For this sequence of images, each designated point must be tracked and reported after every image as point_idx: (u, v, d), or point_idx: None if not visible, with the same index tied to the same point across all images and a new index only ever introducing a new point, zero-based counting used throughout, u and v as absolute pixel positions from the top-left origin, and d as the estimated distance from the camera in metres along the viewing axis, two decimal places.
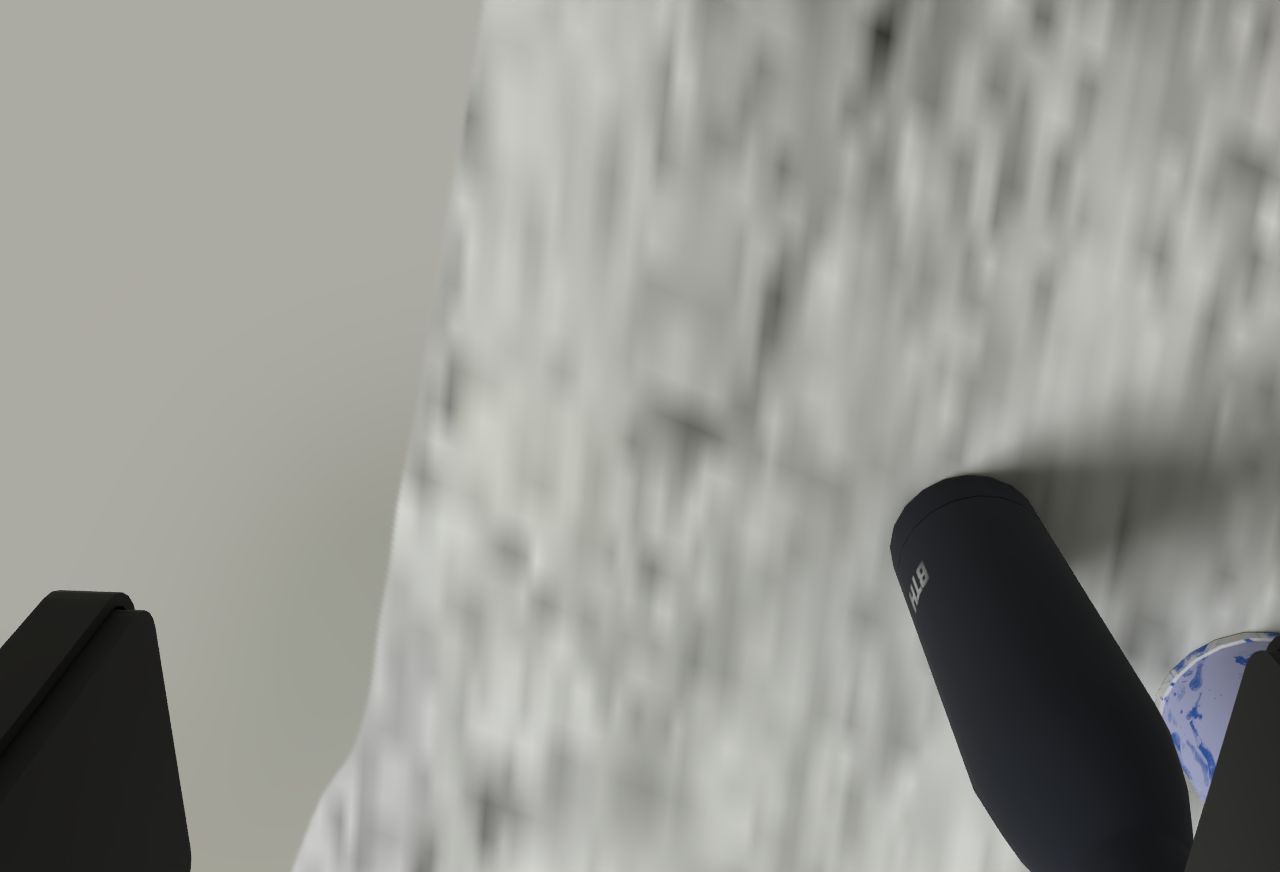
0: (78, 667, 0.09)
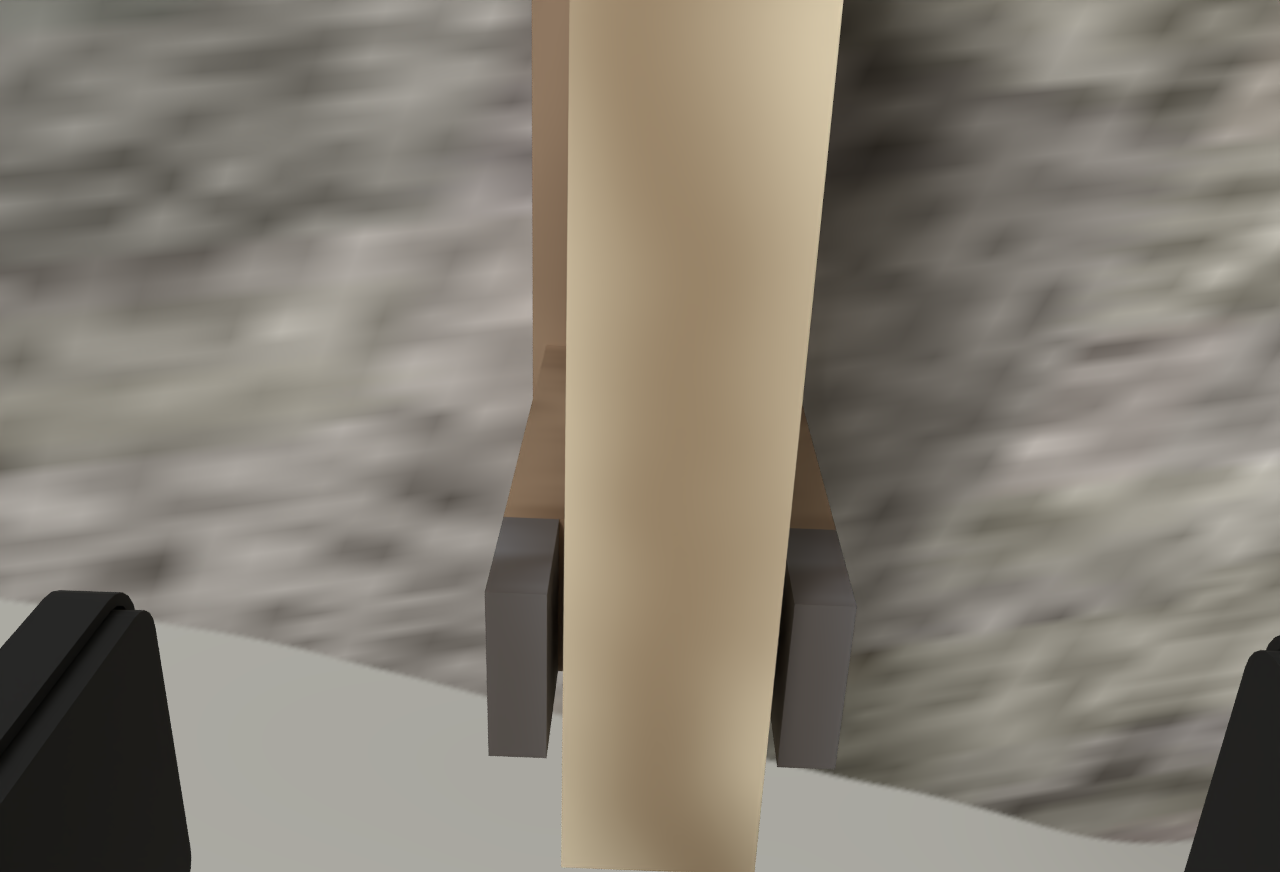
0: (78, 667, 0.09)
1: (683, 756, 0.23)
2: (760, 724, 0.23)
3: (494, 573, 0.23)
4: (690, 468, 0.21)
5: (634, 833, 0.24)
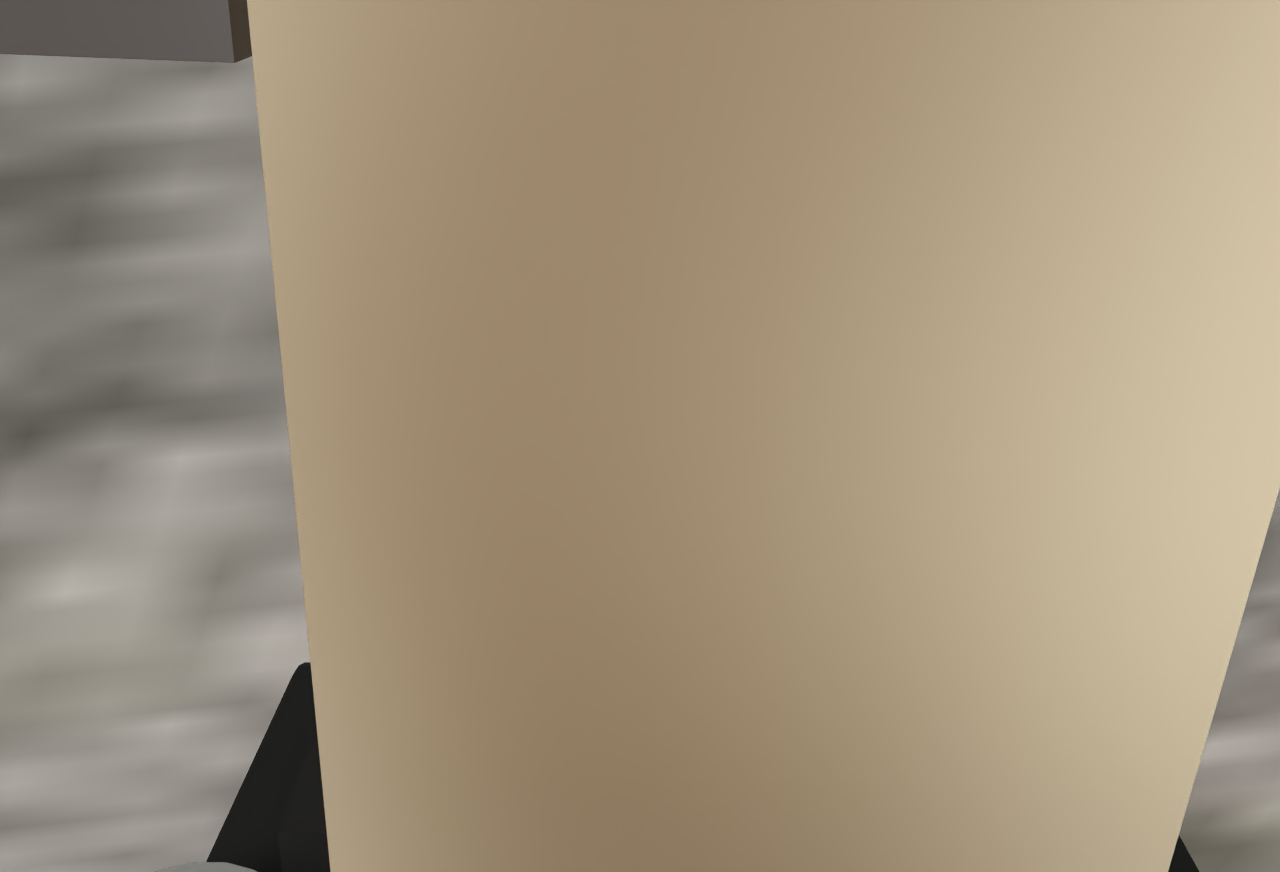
0: None
1: None
2: None
3: None
4: None
5: None
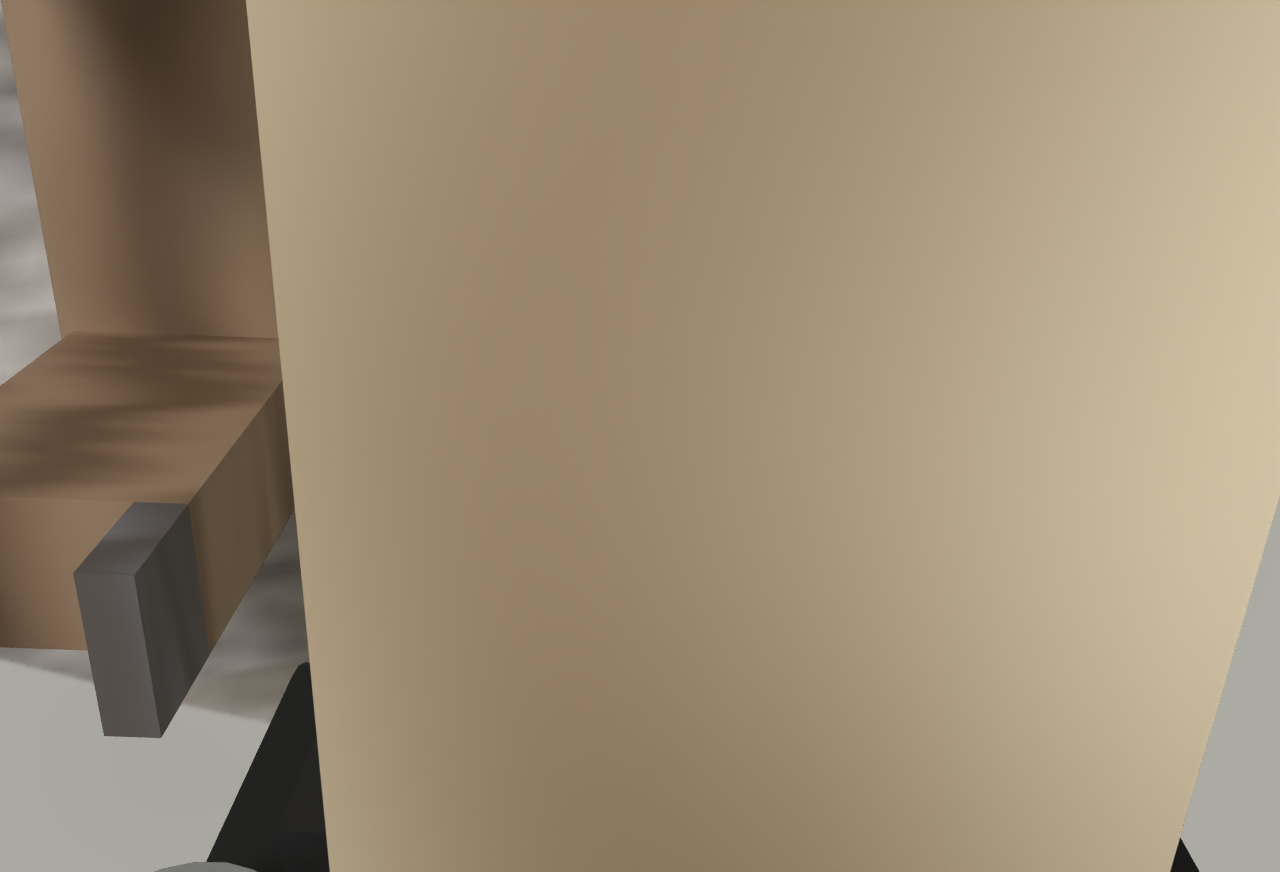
0: None
1: None
2: None
3: None
4: None
5: None
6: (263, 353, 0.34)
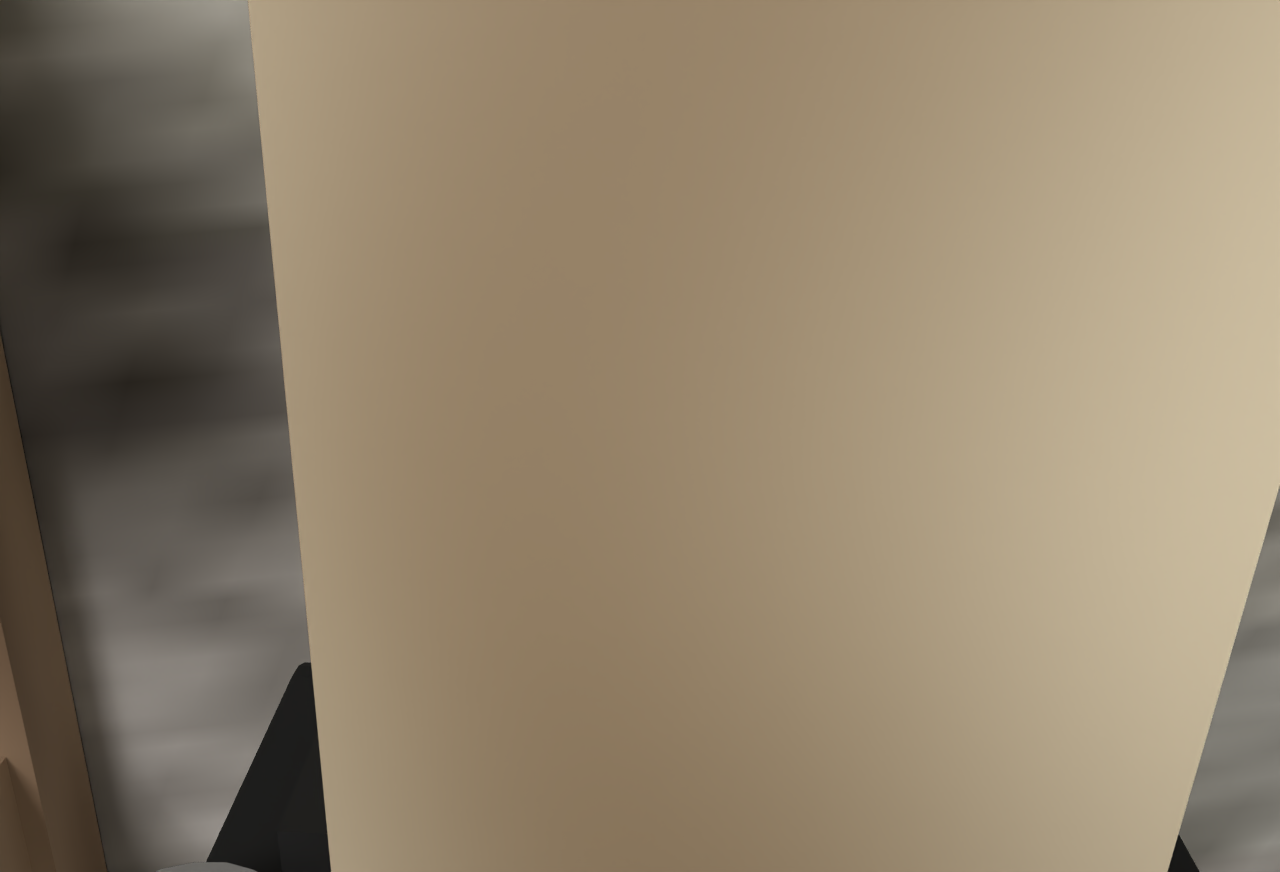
0: None
1: None
2: None
3: None
4: None
5: None
6: None
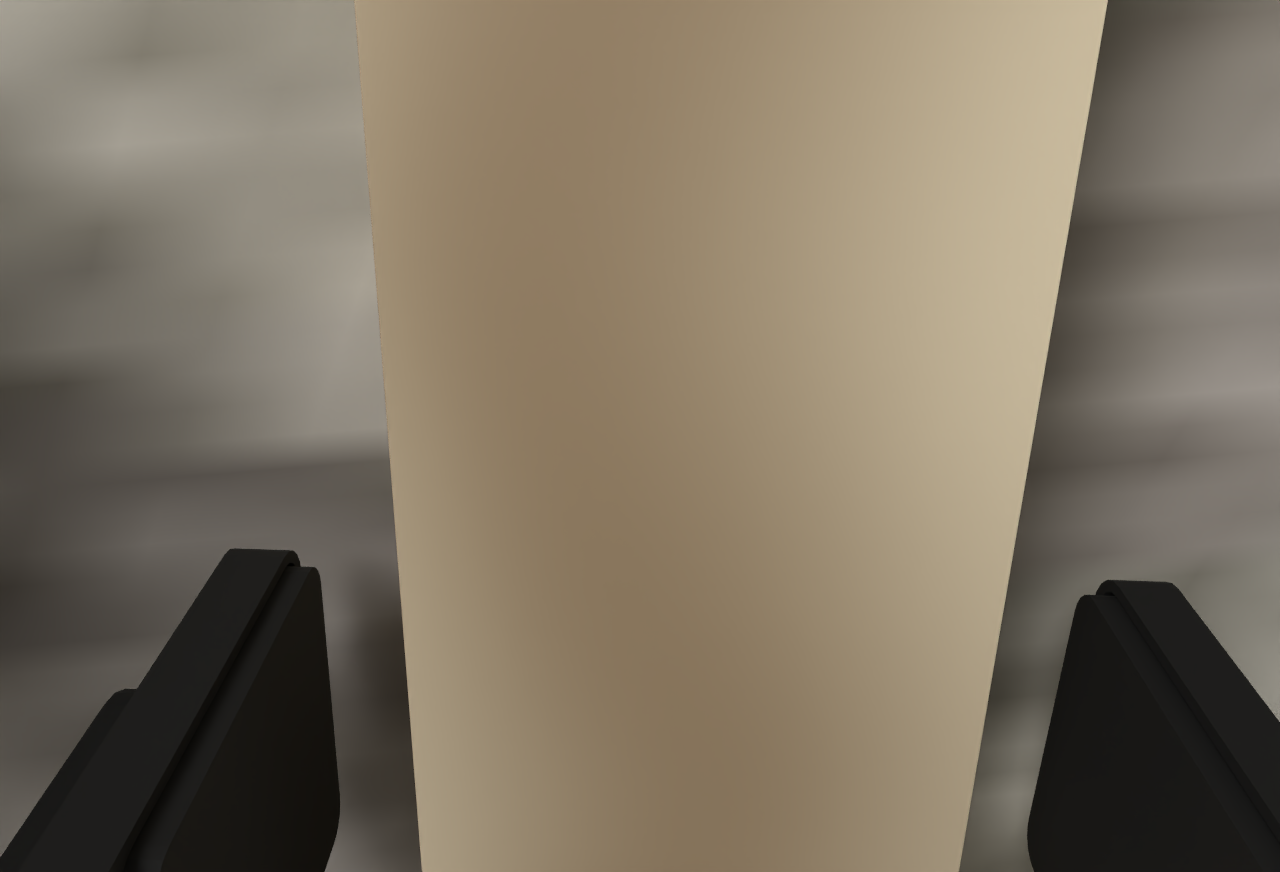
0: (268, 616, 0.09)
1: None
2: None
3: None
4: None
5: None
6: None
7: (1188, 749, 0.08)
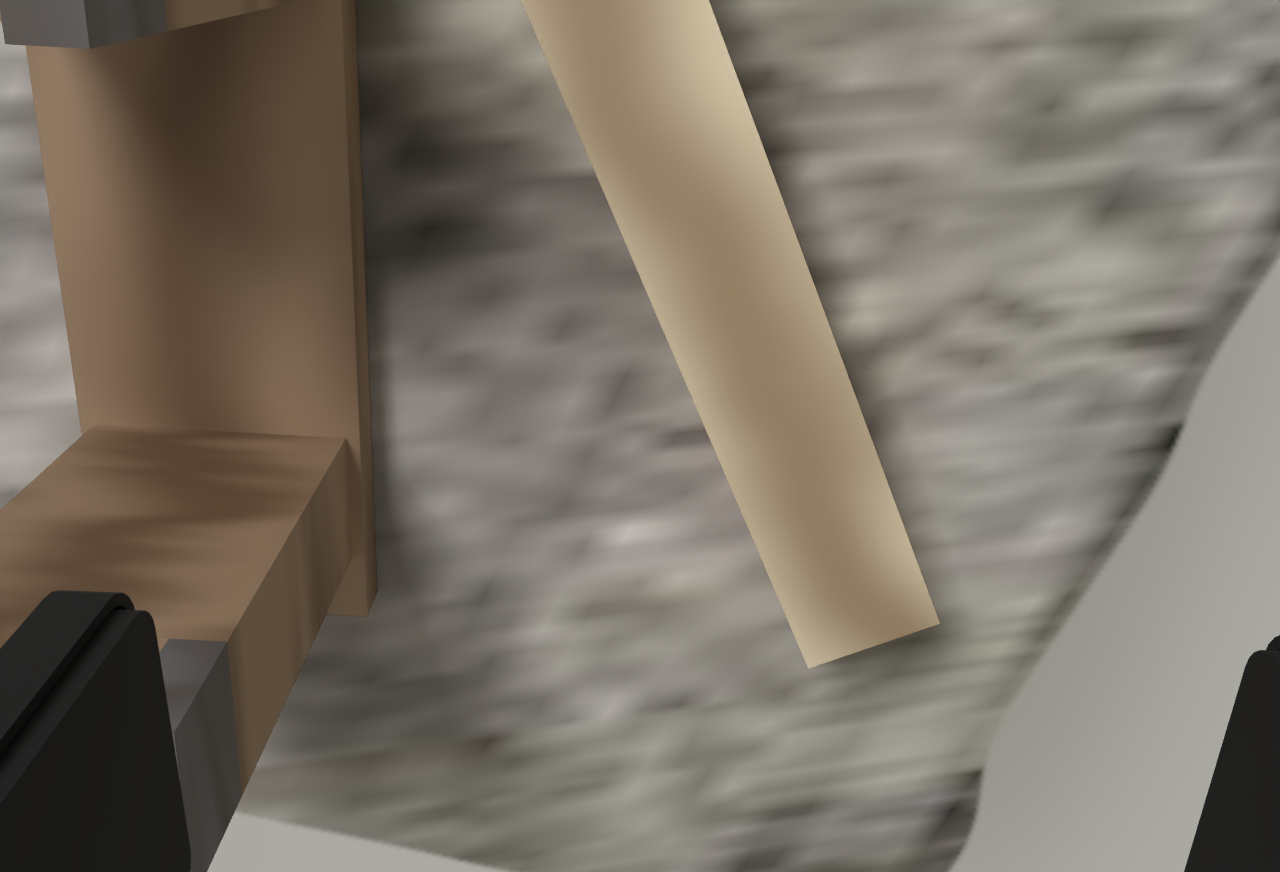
0: (78, 667, 0.09)
1: (853, 557, 0.33)
2: (893, 514, 0.33)
3: None
4: (767, 363, 0.31)
5: (845, 625, 0.34)
6: (295, 454, 0.33)
7: None
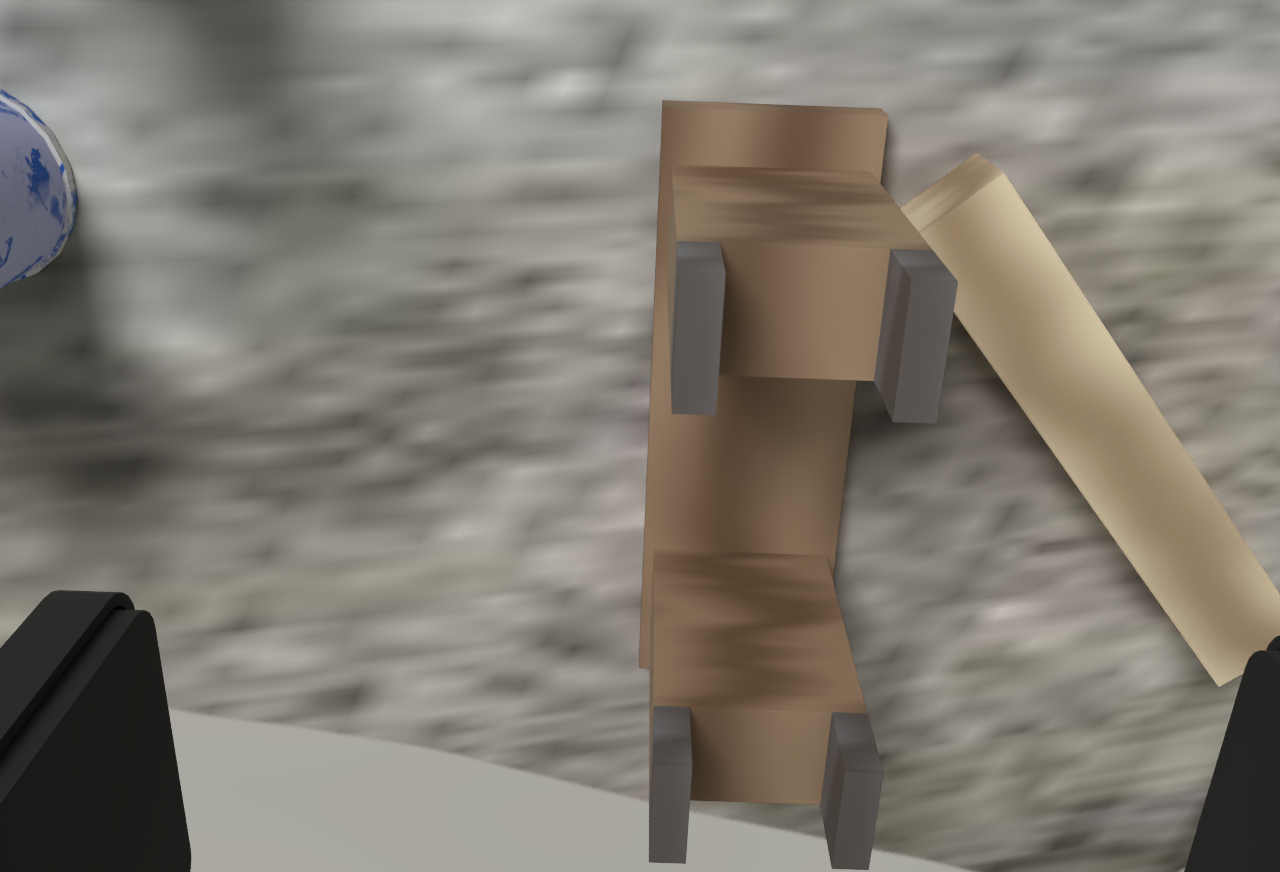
0: (78, 667, 0.09)
1: (1238, 608, 0.48)
2: (1261, 575, 0.47)
3: (657, 750, 0.38)
4: (1159, 501, 0.46)
5: (1240, 653, 0.49)
6: (803, 570, 0.48)
7: None
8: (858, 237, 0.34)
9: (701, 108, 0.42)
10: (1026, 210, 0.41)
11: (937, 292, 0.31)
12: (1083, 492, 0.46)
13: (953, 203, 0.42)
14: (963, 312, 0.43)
